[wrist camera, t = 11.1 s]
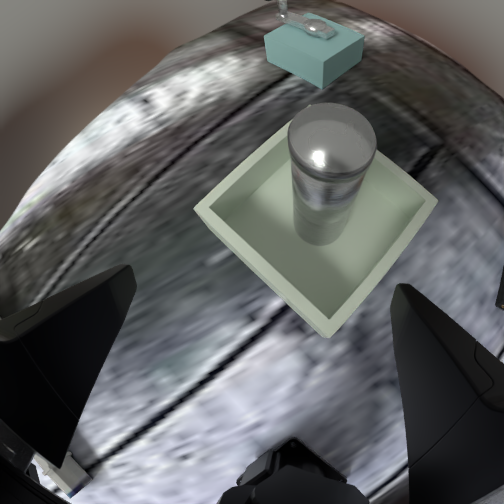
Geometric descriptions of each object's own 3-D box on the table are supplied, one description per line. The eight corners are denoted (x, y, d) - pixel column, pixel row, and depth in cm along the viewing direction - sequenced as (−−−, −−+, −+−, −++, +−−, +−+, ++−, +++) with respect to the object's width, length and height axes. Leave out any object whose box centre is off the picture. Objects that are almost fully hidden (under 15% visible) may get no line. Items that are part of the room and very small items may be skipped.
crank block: (361, 60, 29) (364, 35, 25) (322, 89, 28) (323, 62, 24) (309, 36, 31) (308, 12, 27) (267, 61, 30) (263, 35, 26)
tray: (417, 222, 23) (438, 200, 18) (322, 337, 21) (329, 338, 17) (309, 136, 26) (309, 104, 22) (210, 229, 25) (193, 208, 21)
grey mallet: (62, 504, 16) (-55, 321, 20) (90, 480, 22) (-21, 322, 26) (81, 489, 16) (-44, 292, 20) (111, 462, 23) (-8, 296, 27)
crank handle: (343, 30, 25) (345, -4, 20) (315, 46, 24) (315, 9, 20) (294, 11, 27) (291, -20, 22) (265, 26, 26) (259, -8, 22)
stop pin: (355, 220, 23) (394, 134, 12) (321, 258, 22) (342, 190, 12) (315, 187, 24) (324, 89, 13) (280, 222, 23) (267, 135, 13)
